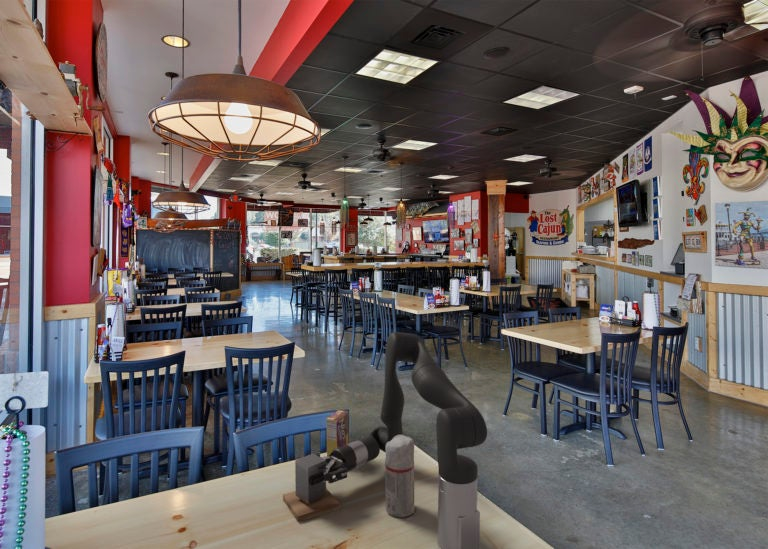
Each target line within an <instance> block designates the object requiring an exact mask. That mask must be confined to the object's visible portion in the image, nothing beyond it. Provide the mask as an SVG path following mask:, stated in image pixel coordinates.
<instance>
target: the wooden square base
mask: <svg viewBox="0 0 768 549" xmlns="http://www.w3.org/2000/svg"><path fill="white" fill-rule="evenodd" d="M282 501H283V502H284V503H285V506H286V507H287V508H288V510H289V511H290V512H291V514H292V516H293V517H294V519H295V520H296V522H298V523H299V522H302V521H305V520H309V519H311V518H315V517H317V516H320V515H323V514H324V515H325V514H327V513H329V512H333V511H337V510H339V509H340V505H341V504H340V502H339V501H338V500H337V498H336V497H335V496H334V495H333V494H332V493H331V491H329V490H328V488H327V487H326V495H325V496H323V497H321V498H319V499H317V500H315V501H313V502H311V503H310V504H308V503H306V502H305V501H303V500H302V499H300V498H299V497H297V496H296V490H295V491H290V492H288V493H285V494H282Z"/></svg>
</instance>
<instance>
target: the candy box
mask: <svg viewBox="0 0 768 549" xmlns="http://www.w3.org/2000/svg"><path fill="white" fill-rule="evenodd" d="M348 419H349V418H348V411H345V410H336V411H335V412H334V413H332V414H331V415H330V416H329V417H327V418H326V419H325V421H326V422H325V423H326V424H325V425H326V456H329V455H330V454H331V452H332V451H333V450H334V449H336V448H339V447H341V446H344V445H346V444H348V443H349V425H348V424H349V422H348Z"/></svg>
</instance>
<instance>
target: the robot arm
mask: <svg viewBox="0 0 768 549" xmlns="http://www.w3.org/2000/svg"><path fill="white" fill-rule="evenodd" d="M384 357H385V360H384V364H385V365H384V366H385V367H384V389H383V397H382V398H383V399H382V404H381V409H380V410H381V411H380V421H381V422H382V423H383V424H384V425H385V426H377V427H375V428H374V429H373V430H371V431H370V432H369V433H368V434H367V435H366V436H365V437H363V438H360V439H358V440H356V441H352V442H348V444H346V445H344V446H341V447H339V448H336V449H334V450H333V451H332V452H331V454H330V455H329V456H327V455H326V456H321V453H316V454H315V453H314V454H315V455H317V456H319V457H321V458H323V459H324V460H326V470H325V471H323V472H322V473H319V474H317V475H315V476H312V477H311V478H310V485H311V486H313V485H316V484H318V483H320V482H322V481H323V482H326V483H328V484H333V483H336V482H339V481H342V480H344V479H346V478H348V473H350V472H353V471H354V470H356V469H358V468H360V467H362V466H363V465H365V464H367V463H369V462H371V461H373V460H375V459H376V458H378V456H379V455H380V451H382V452H383V453H385V454H386V449H385V447H386V444H387V442H389V441H391V440H392V439H393V438H394V437H395V436H397V435H404V434H403V433H404V432H403V431H404V430H403V423H402V421H403V420H402V419H403V412H404V406H405V394H404V390H403V389H402V386H401V383H400V381H399V378H398V375H397V363H398V362H403V363H404V362H407V363H412V364H414V366H413V368H412V371H411V375H410V377H411V382H412V385H413V387H414V388H415V390H416V391H417V393H418V395H419V396H420V397H421V398H422V400H425V402H427V403H429V404H431V405H432V406H435V407H437V408H439V409H440V410H439V412H438V413H437V416H436V424H435V428H436V429H435V431H436V458H437V464H438V475H437V476H438V482H437V483H438V485H437V488H438V489H437V495H438V498H437V544H438V547H439V548H441V549H480V541H481V540H480V538H481V537H480V533H481V531H480V527H481V524H480V523H481V512H480V511H479V510H478V472H479V471H478V465H477V463H476V462H475V461H474V460H473V459H472V458H470V457H468V456H465V455H463V454H459V453H458V450H459V449H467V448H473V447H478V446H480V445H482V444H483V443H485V441H486V439H487V437H488V427H487V424H486V421H485V419H484V418H485V417H484V416H483V415H482V413H481V412H480V410H479V409H478V408H477V407H476V405H474V403H472V402H471V401H470V400H469V399H468V398H467V397H466V396H465V395H463V393H462V392H461V391H459V389H458V388H457V387H456V386H455V385H454V384H453V382H452V381H451V380H450V379H449V377H448V376H447V374H446V373H445V372H444V370H443V369H442V367H440V366H439V364H438V363H437V362H436V361H435V359H434V358H433V356H432V355H431V354H430V353H429V351H428V348H427V347H426V345H425V344H424V342H423V340H422V339H421V337H420V336H419V335H417V334H415V333H409V332H408V333H407V332H399V331H398V332H397V331H393V332H391V333H389V336H388V337H387V340H386V346H385V356H384ZM333 476H334V477H333Z"/></svg>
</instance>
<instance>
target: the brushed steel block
mask: <svg viewBox="0 0 768 549" xmlns="http://www.w3.org/2000/svg"><path fill="white" fill-rule="evenodd" d="M321 457H322V456H320V457H319V456H317V455H315V453H310V454H308V455H306V456H303V457H300V458H298V459H296V460H294V461H295V462H294V463H295V464H294V465H295V466H294V468H295V470H294V471H295V472H294V474H295V477H294V478H295V491H296V496H297V497H299V498H300V499H302V500H303V501H305V502H306V503H308V504H310V503H311V502H313V501H315V500H317V499H319V498H321V497H323V496H325V495H326V488H327V481H326V482H323V481H322V482H320V483H318V484H316V485H313V486H311V485H310V478H311V477H312V476H315V475H317V474H319V473H322V472H323V471H325V470H326V460H324V459H323V457H322V458H321Z"/></svg>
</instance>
